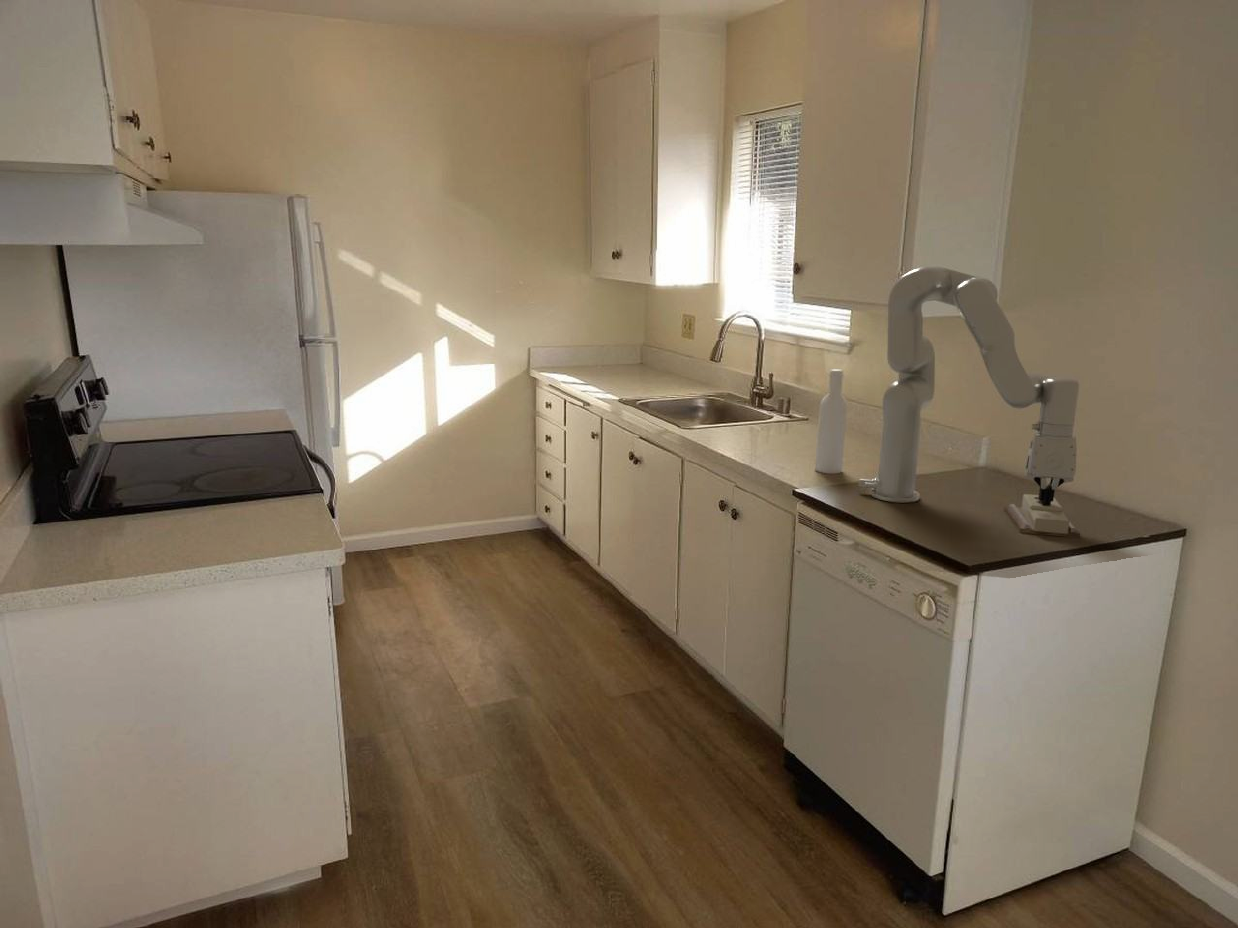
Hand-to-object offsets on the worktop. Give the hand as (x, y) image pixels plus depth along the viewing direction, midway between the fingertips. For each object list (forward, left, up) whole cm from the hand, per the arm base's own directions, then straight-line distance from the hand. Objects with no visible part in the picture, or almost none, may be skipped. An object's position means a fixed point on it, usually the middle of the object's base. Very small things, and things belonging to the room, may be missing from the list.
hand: (1045, 503), depth 209 cm
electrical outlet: (0, -1, -4) cm, 4 cm away
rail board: (0, 0, -5) cm, 5 cm away
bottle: (-50, +37, -5) cm, 63 cm away
